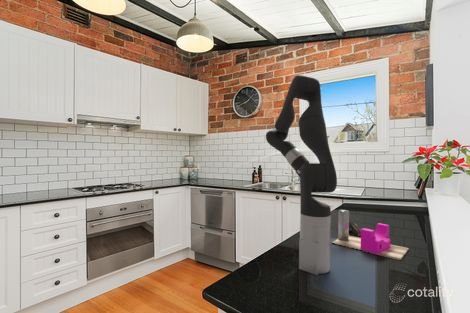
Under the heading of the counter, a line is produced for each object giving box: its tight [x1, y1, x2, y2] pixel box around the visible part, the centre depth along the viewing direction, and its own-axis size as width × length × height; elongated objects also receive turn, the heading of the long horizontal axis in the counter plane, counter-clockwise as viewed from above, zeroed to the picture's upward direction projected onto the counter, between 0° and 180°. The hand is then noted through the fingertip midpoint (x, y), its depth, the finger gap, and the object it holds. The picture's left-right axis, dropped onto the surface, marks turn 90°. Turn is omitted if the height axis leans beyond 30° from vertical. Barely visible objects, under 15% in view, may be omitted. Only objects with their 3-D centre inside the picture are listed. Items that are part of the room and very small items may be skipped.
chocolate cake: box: [349, 220, 362, 238], centre depth 125 cm, size 10×7×12 cm
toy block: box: [360, 222, 391, 255], centre depth 104 cm, size 15×6×8 cm, turn 128°
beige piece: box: [331, 209, 410, 261], centre depth 106 cm, size 14×24×13 cm, turn 48°
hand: (319, 186), depth 120 cm, fingers open, 8 cm apart
